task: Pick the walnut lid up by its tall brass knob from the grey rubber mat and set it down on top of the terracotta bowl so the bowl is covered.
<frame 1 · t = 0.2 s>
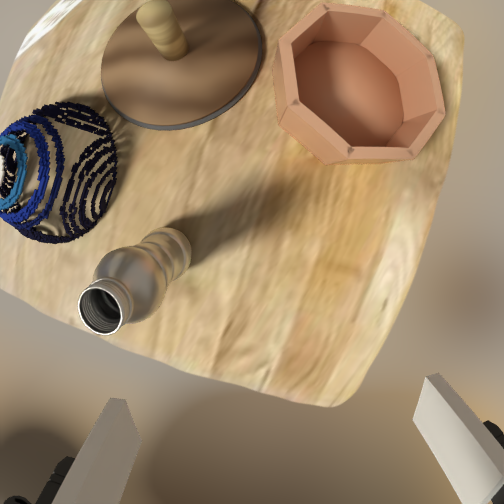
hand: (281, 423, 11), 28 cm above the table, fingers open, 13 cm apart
mat: (177, 53, 32), on the table
lid: (176, 52, 32), resting on mat
plastic bottle: (170, 249, 38), on the table
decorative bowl: (59, 171, 35), on the table
bowl: (345, 96, 34), on the table
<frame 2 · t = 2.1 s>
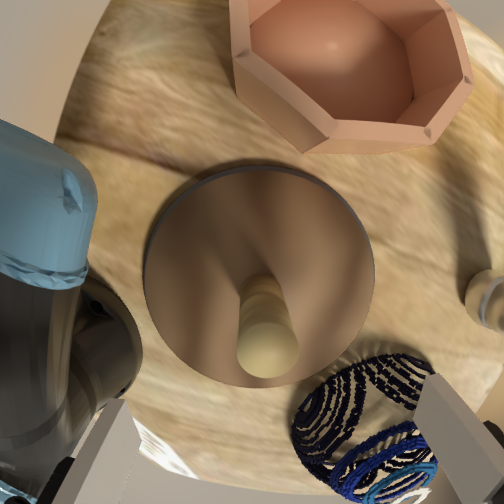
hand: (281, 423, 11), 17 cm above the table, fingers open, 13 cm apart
mat: (260, 288, 28), on the table
lid: (260, 289, 27), resting on mat
plastic bottle: (475, 290, 29), on the table
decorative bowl: (367, 417, 32), on the table
bowl: (333, 62, 23), on the table
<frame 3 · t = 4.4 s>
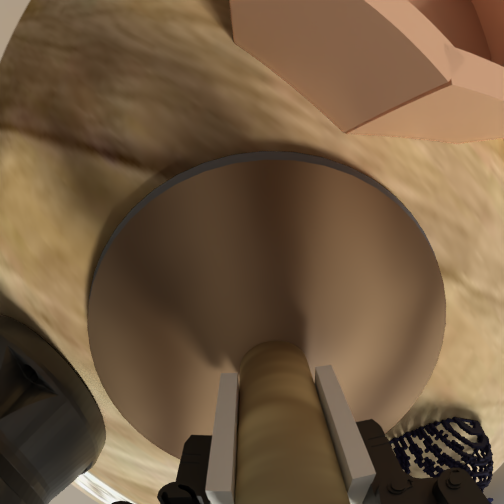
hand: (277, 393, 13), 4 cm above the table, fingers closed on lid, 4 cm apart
mat: (272, 355, 17), on the table
lid: (272, 359, 16), resting on mat, touching gripper
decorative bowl: (398, 483, 21), on the table
bowl: (382, 3, 12), on the table
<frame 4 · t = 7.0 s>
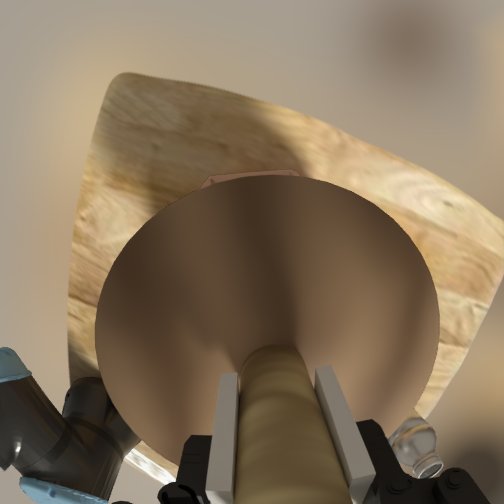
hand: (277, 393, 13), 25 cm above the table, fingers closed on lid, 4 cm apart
lid: (272, 365, 17), point 22 cm above the table, tilted 5°, touching gripper
plastic bottle: (377, 384, 43), on the table
bowl: (255, 250, 37), on the table
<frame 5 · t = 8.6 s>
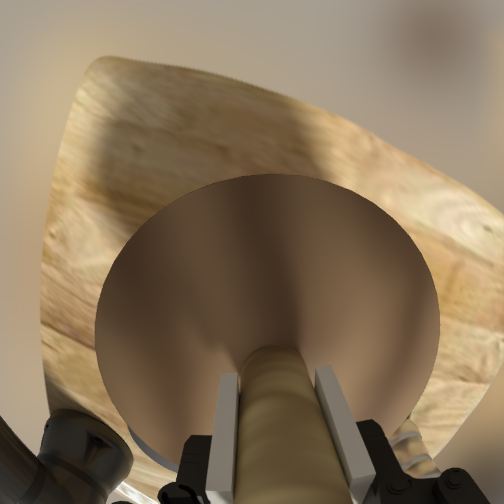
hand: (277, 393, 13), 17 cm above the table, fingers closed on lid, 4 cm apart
mat: (207, 436, 34), on the table
lid: (272, 365, 17), point 13 cm above the table, tilted 5°, touching gripper
plastic bottle: (391, 427, 35), on the table
when the fingers open (14 cm above the table, at t = 9.8 s): lid drops 1 cm, resting on bowl.
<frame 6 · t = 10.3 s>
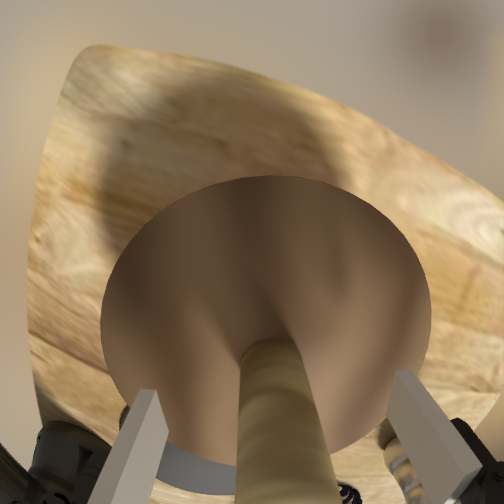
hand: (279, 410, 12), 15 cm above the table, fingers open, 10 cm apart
mat: (205, 452, 31), on the table
lid: (270, 355, 18), point 9 cm above the table, touching bowl
plastic bottle: (400, 440, 32), on the table
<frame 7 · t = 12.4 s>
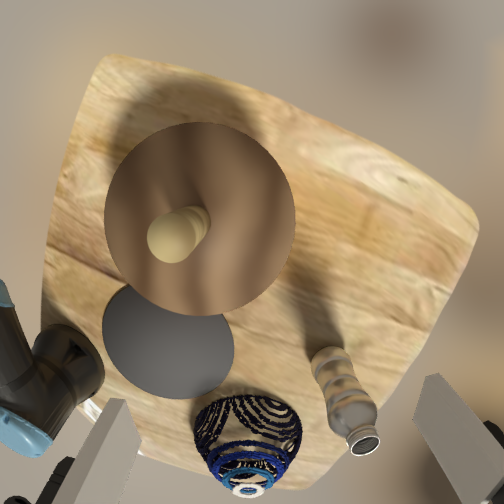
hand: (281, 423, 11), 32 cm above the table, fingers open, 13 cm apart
mat: (165, 345, 45), on the table
lid: (195, 221, 32), point 9 cm above the table, touching bowl
plastic bottle: (327, 357, 46), on the table
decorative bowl: (247, 431, 50), on the table
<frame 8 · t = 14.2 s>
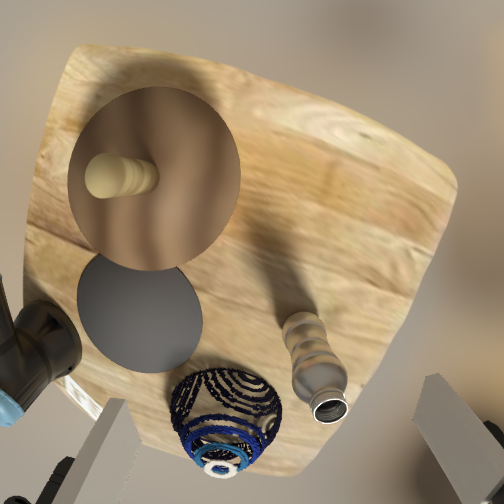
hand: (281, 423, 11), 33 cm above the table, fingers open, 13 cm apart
mat: (135, 315, 45), on the table
lid: (147, 177, 32), point 9 cm above the table, touching bowl
plastic bottle: (301, 325, 46), on the table
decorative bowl: (225, 410, 50), on the table
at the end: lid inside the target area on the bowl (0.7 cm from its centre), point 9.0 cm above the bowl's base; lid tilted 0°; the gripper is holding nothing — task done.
